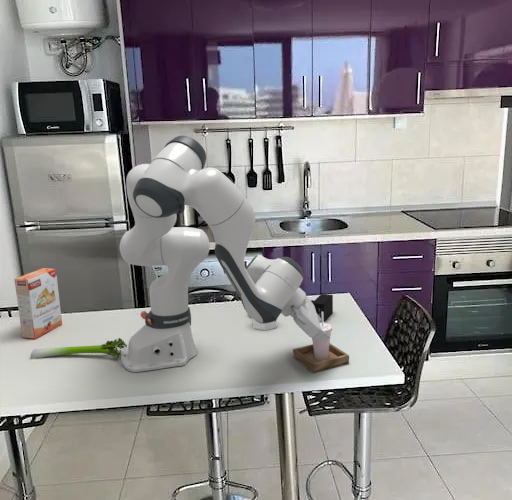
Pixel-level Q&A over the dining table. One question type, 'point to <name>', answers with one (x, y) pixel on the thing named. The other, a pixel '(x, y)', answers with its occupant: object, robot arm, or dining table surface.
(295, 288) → the robot arm
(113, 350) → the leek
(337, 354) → the tray
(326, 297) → the digital camera
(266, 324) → the jar
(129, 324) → the dining table surface
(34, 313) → the cracker box
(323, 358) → the smoothie
